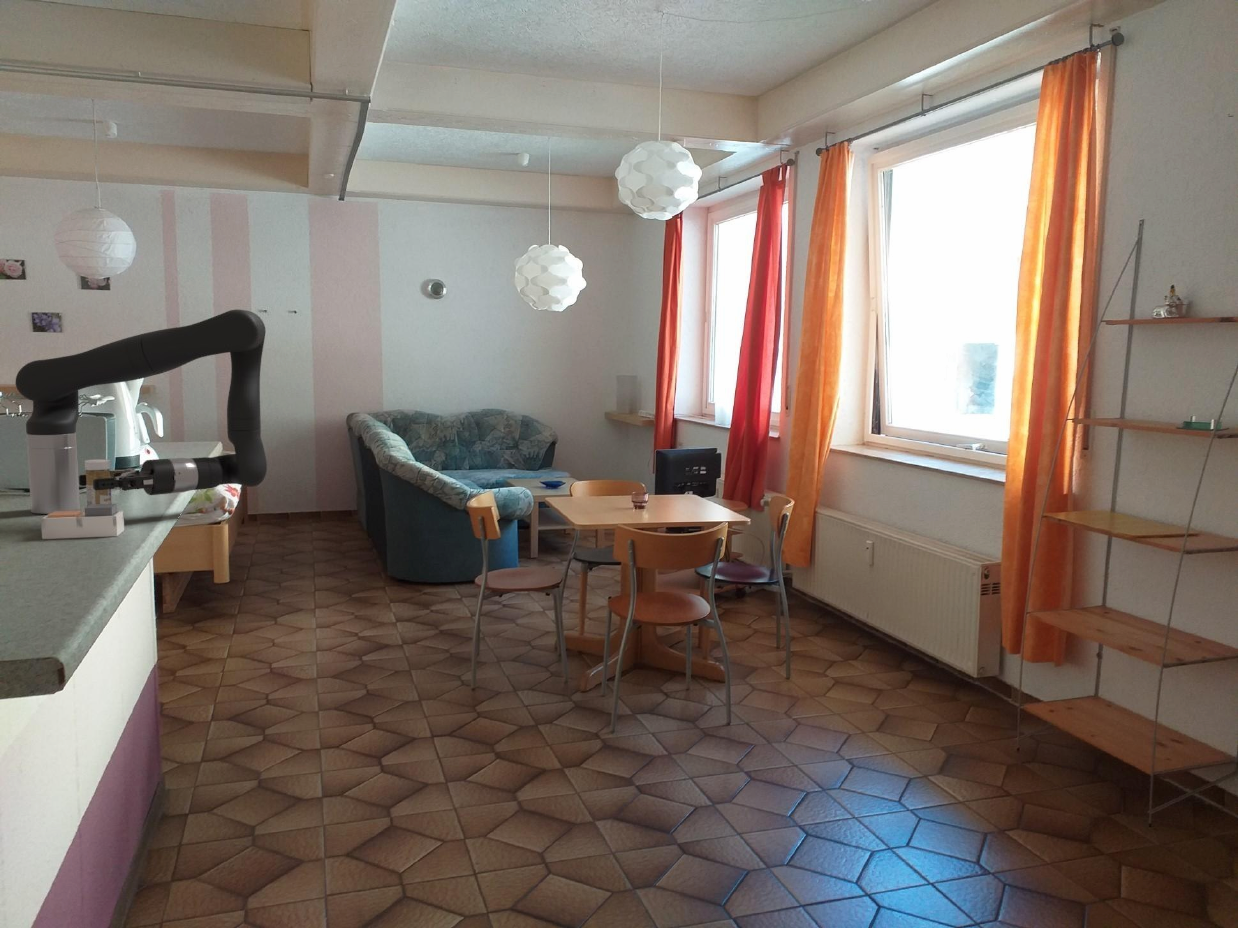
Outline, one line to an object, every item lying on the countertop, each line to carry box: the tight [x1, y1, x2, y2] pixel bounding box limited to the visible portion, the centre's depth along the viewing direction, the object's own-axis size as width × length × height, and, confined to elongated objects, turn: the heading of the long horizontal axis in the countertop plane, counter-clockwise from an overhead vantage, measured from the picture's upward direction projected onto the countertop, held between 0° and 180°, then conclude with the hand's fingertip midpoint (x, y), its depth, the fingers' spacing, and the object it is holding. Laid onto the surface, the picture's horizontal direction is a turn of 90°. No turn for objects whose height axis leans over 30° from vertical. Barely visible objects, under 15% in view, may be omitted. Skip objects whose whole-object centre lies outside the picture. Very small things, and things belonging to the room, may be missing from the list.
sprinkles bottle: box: [84, 458, 113, 507], centre depth 184 cm, size 5×5×14 cm
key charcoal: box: [84, 503, 118, 517], centre depth 176 cm, size 5×5×2 cm
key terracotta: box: [47, 509, 83, 518], centre depth 174 cm, size 5×5×2 cm
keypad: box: [40, 510, 125, 540], centre depth 175 cm, size 6×13×4 cm, turn 108°
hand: (86, 482), depth 182 cm, fingers open, 8 cm apart
